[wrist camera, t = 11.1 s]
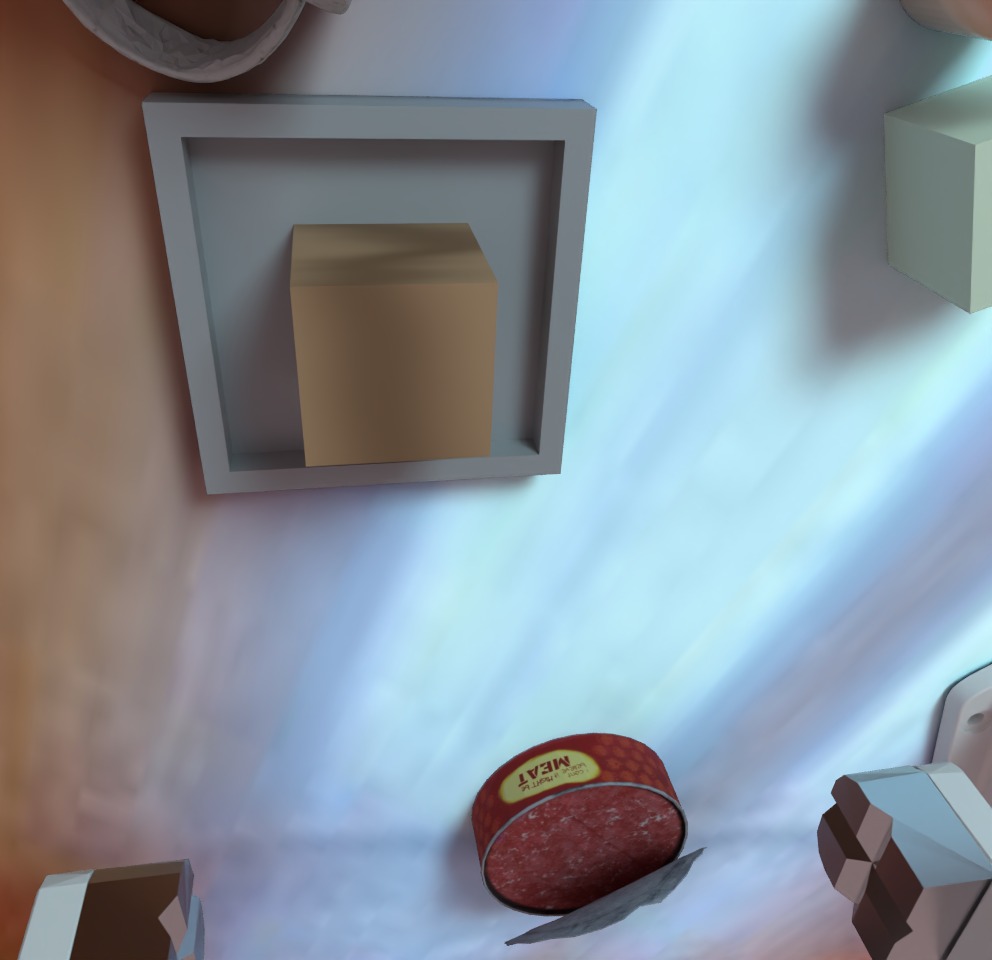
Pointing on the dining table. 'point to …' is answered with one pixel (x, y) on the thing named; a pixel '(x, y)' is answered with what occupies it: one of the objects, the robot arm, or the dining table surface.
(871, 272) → the dining table surface
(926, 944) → the robot arm
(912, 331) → the dining table surface
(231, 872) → the dining table surface
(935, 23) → the terracotta cylinder
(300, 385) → the walnut block
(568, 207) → the tray
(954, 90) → the green block
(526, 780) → the canned food
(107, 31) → the ceramic mug
